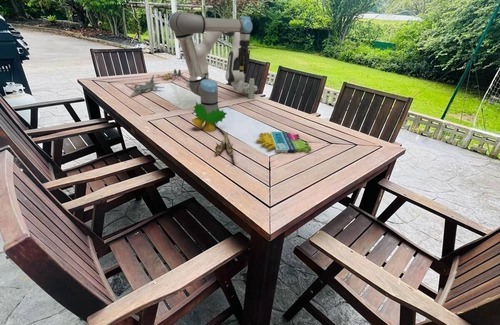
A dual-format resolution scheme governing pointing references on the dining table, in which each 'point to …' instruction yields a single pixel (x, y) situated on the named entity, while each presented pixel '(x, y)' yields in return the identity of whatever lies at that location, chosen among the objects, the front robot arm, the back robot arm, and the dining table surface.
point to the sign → (283, 142)
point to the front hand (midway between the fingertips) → (243, 72)
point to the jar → (251, 88)
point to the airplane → (145, 87)
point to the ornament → (207, 117)
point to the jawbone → (224, 145)
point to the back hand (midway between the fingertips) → (251, 91)
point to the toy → (171, 75)
